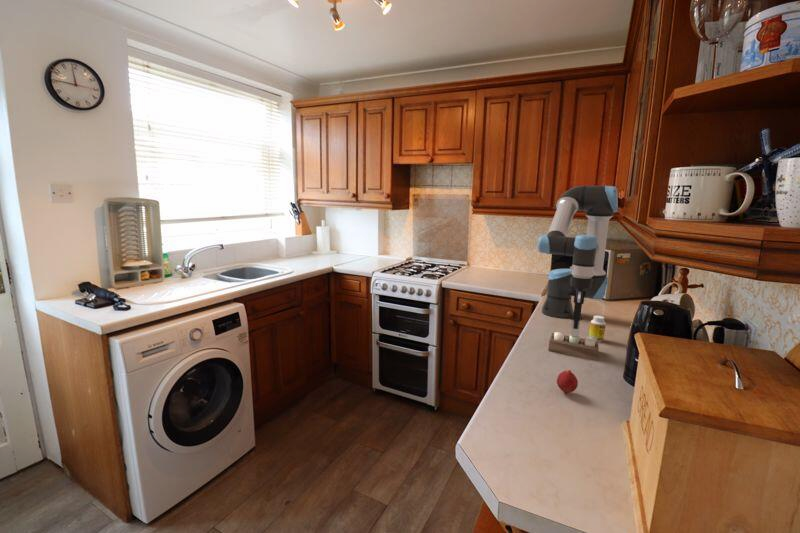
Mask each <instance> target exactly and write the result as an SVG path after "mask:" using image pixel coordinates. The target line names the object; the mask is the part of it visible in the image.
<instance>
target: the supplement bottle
mask: <svg viewBox="0 0 800 533" xmlns="http://www.w3.org/2000/svg"><path fill="white" fill-rule="evenodd" d="M606 324H607V322H605V317H604V316H602V315H593V318H592V320H590V324H589V325H590V327H589V332H588V333H589V334H588V337H590V338H594V339H595V340H596V341H599V343H602V342H603V341H604V339H605V331H606Z"/></svg>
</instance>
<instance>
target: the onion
mask: <svg viewBox="0 0 800 533" xmlns="http://www.w3.org/2000/svg"><path fill="white" fill-rule="evenodd" d="M556 384H557V387H558V388H559V389H560V390H561V391H562V393H564V394H565V395H567V394H570V393H573V392H574V391H575V390H577V388H578V386H579V385H578V384H579V381H578V379H577V376H576V375H575V374H574V373H573V372H572V370H571V369H569V368H568V369H567V370H564V371H562V372H560V373H559V374H558V375H557V378H556Z"/></svg>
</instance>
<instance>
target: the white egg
mask: <svg viewBox="0 0 800 533" xmlns="http://www.w3.org/2000/svg"><path fill="white" fill-rule="evenodd" d="M584 339H585V343H584V345H587V346H592V347H595V341H596V340H595V339H594V338H590V337H589V336H587V337H585V338H584Z"/></svg>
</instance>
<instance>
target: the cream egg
mask: <svg viewBox="0 0 800 533" xmlns="http://www.w3.org/2000/svg"><path fill="white" fill-rule="evenodd" d="M564 335H565V333H563V332H559V331H555V332H554V340H560V341H564Z"/></svg>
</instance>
